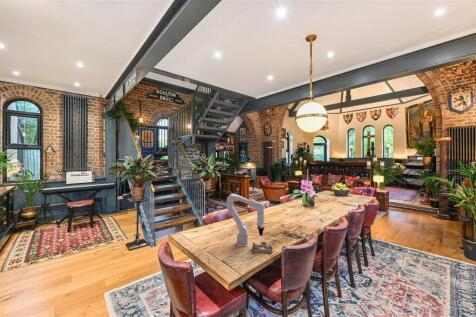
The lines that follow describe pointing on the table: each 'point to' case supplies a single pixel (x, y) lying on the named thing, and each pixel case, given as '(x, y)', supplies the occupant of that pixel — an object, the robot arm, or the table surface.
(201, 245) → the table surface
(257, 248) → the walnut step ramp
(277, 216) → the table surface
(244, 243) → the robot arm
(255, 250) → the slate lane
